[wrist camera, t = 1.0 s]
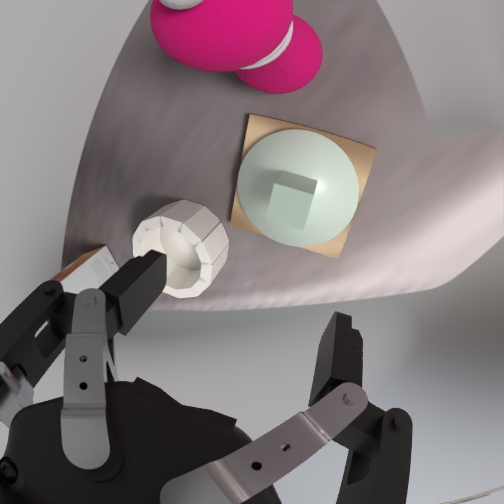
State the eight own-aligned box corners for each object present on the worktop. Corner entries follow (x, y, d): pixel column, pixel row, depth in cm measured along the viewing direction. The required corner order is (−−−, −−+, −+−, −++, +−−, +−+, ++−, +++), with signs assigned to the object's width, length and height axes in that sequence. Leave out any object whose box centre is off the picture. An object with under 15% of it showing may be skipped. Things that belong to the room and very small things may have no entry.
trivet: (252, 113, 25) (249, 114, 24) (375, 147, 24) (376, 149, 23) (232, 221, 32) (229, 225, 31) (338, 254, 30) (337, 259, 29)
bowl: (156, 192, 33) (131, 207, 28) (234, 213, 31) (216, 233, 27) (155, 260, 38) (135, 280, 34) (222, 284, 36) (207, 308, 32)
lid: (251, 116, 25) (232, 119, 20) (373, 150, 23) (382, 161, 18) (231, 224, 31) (212, 247, 26) (336, 256, 29) (334, 286, 25)
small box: (107, 244, 39) (60, 281, 31) (124, 275, 42) (81, 316, 33) (81, 253, 43) (39, 287, 34) (97, 281, 45) (58, 317, 36)
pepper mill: (250, 97, 25) (91, 104, 8) (244, 31, 21) (92, -45, 4) (327, 95, 23) (304, 61, 6) (320, 25, 19) (275, -111, 2)
